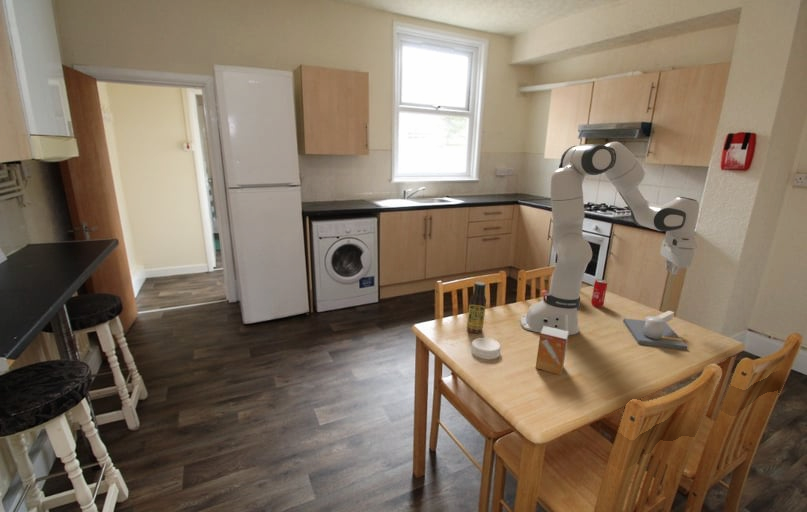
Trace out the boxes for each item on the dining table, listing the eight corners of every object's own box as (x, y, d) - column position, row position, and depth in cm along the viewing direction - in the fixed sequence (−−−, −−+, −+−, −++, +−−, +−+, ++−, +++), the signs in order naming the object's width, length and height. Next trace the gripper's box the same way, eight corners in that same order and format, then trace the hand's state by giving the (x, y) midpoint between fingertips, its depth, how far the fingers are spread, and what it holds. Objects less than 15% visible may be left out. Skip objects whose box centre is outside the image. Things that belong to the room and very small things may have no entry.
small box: (535, 368, 126) (539, 332, 123) (538, 359, 132) (543, 325, 128) (561, 375, 123) (566, 339, 119) (563, 366, 128) (569, 330, 124)
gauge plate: (637, 343, 144) (638, 339, 144) (623, 321, 163) (623, 317, 162) (686, 350, 140) (687, 345, 140) (665, 326, 159) (666, 322, 159)
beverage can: (604, 308, 176) (608, 283, 173) (592, 306, 177) (596, 282, 174) (601, 303, 181) (605, 279, 178) (589, 302, 182) (593, 278, 179)
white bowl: (504, 351, 137) (505, 342, 136) (494, 363, 129) (495, 354, 128) (477, 343, 143) (478, 334, 142) (466, 354, 135) (467, 345, 134)
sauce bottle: (466, 332, 150) (469, 284, 144) (467, 325, 156) (470, 279, 150) (483, 335, 148) (487, 286, 143) (483, 327, 154) (487, 281, 149)
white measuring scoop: (657, 340, 143) (660, 324, 141) (640, 334, 148) (643, 318, 146) (676, 329, 152) (679, 314, 151) (659, 323, 157) (663, 308, 155)
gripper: (659, 232, 161) (653, 264, 165) (680, 244, 142) (672, 279, 145) (676, 233, 159) (669, 265, 163) (699, 245, 140) (691, 281, 144)
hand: (671, 272), depth 154 cm, fingers open, 4 cm apart
